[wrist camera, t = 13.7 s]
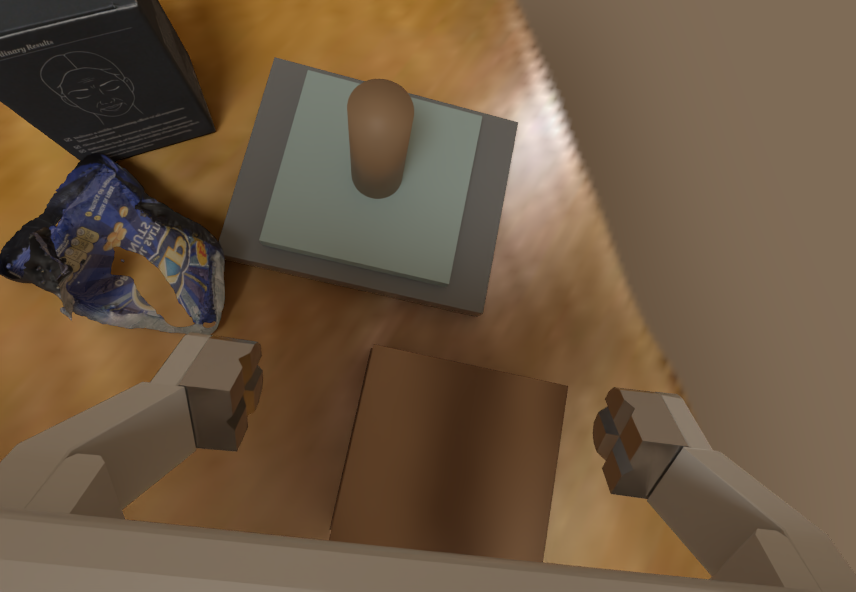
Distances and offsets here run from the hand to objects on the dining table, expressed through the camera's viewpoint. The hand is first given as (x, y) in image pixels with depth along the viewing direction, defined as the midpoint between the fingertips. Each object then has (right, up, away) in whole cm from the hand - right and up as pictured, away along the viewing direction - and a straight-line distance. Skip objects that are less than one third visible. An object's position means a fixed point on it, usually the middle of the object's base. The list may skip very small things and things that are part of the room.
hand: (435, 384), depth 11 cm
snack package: (-18, +4, +17) cm, 25 cm away
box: (-18, +14, +19) cm, 29 cm away
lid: (-3, +9, +18) cm, 20 cm away
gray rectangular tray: (-4, +9, +20) cm, 22 cm away
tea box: (0, -7, +17) cm, 19 cm away
